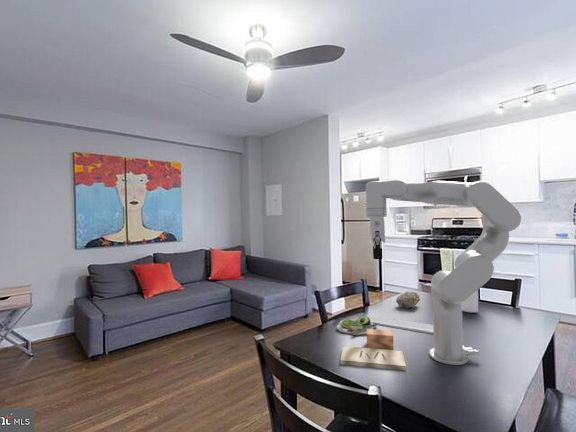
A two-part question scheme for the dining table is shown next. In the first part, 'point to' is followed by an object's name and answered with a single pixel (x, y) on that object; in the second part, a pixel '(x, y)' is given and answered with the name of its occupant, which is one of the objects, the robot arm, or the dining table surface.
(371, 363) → the plywood board
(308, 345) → the dining table surface
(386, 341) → the block
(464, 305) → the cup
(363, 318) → the salad plate
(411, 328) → the baseboard
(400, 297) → the pumice stone
